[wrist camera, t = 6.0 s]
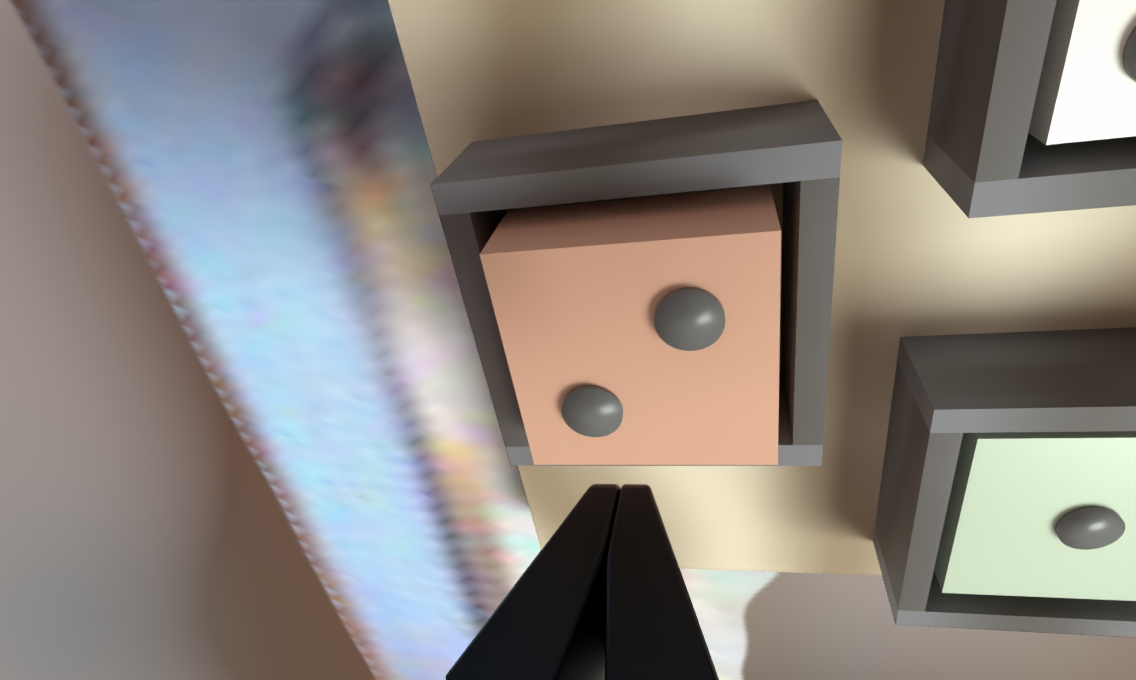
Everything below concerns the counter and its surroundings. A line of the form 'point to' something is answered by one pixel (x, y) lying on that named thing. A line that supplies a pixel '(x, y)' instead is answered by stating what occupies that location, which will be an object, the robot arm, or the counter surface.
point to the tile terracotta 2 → (643, 327)
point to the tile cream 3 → (1088, 73)
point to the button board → (816, 251)
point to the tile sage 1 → (1042, 516)
